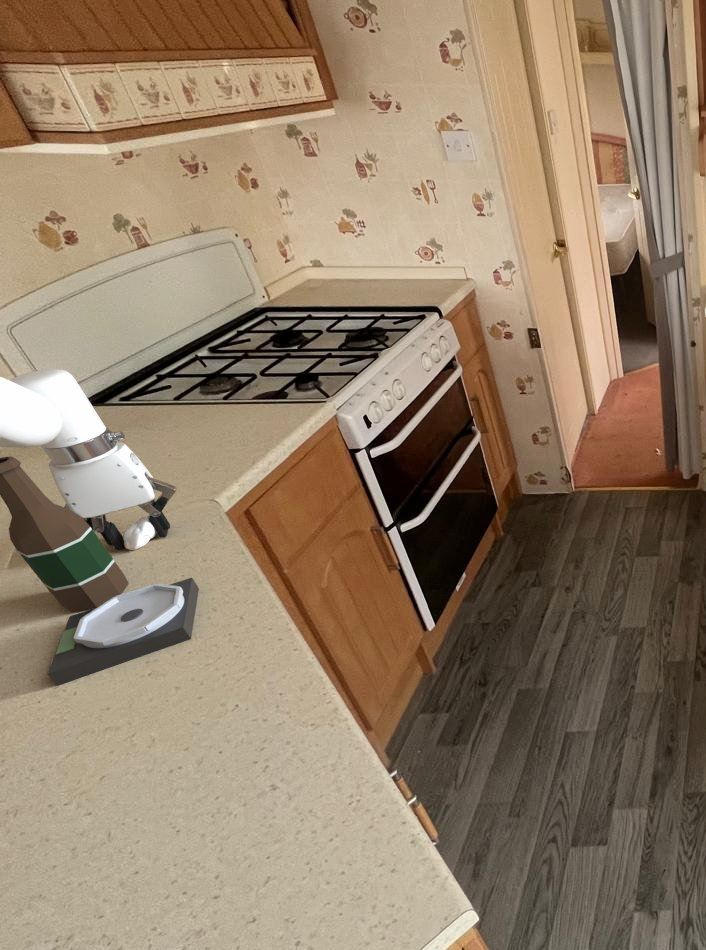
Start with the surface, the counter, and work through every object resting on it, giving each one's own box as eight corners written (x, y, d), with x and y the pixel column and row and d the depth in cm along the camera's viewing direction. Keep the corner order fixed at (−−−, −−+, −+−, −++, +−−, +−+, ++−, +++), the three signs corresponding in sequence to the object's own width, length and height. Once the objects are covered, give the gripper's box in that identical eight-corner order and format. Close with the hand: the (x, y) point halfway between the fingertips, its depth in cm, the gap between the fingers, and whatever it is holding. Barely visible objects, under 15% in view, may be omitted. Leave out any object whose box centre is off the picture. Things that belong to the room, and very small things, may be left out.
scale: (57, 685, 88) (40, 666, 86) (78, 627, 97) (63, 608, 95) (191, 638, 94) (178, 619, 92) (199, 588, 104) (187, 570, 102)
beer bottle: (129, 572, 108) (38, 441, 95) (131, 595, 103) (34, 461, 90) (63, 595, 103) (-42, 461, 91) (62, 621, 98) (-50, 483, 86)
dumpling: (168, 542, 115) (150, 528, 112) (132, 560, 112) (113, 545, 110) (163, 519, 118) (145, 505, 116) (128, 535, 116) (110, 521, 113)
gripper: (154, 423, 112) (207, 511, 121) (13, 454, 104) (81, 547, 113) (148, 440, 107) (203, 532, 116) (-1, 475, 99) (71, 570, 108)
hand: (142, 538), depth 115 cm, fingers closed on dumpling, 5 cm apart
